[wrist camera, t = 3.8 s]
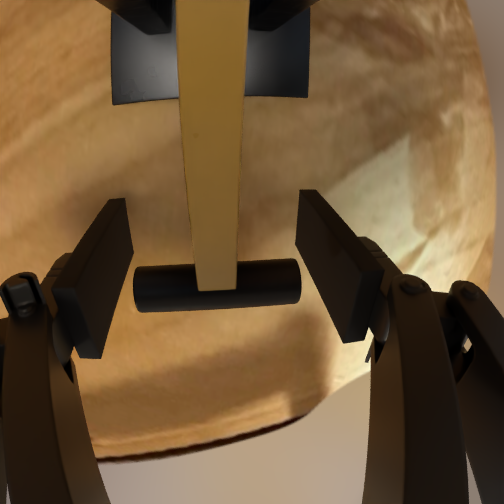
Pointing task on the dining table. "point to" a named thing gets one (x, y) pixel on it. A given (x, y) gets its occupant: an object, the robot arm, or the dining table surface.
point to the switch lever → (213, 174)
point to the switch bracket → (165, 49)
